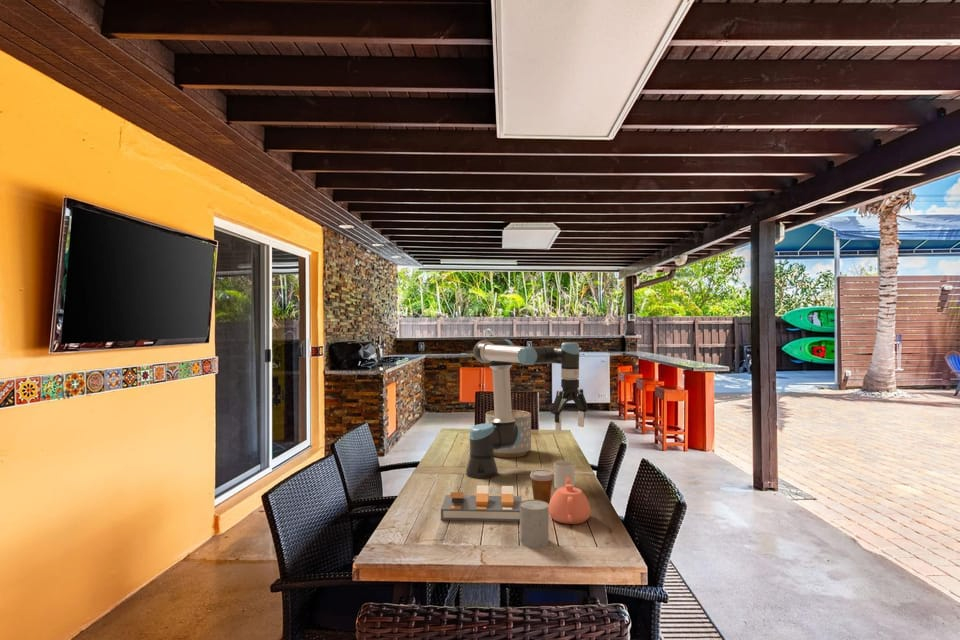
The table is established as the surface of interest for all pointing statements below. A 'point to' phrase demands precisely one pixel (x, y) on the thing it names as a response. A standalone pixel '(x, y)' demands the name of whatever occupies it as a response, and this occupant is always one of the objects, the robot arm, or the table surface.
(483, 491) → the rocker
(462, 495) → the block
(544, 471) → the disposable coffee cup
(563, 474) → the mug
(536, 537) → the grey cylinder
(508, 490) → the rocker
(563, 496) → the teapot
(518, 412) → the planter
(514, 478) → the table surface
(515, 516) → the console
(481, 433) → the robot arm
